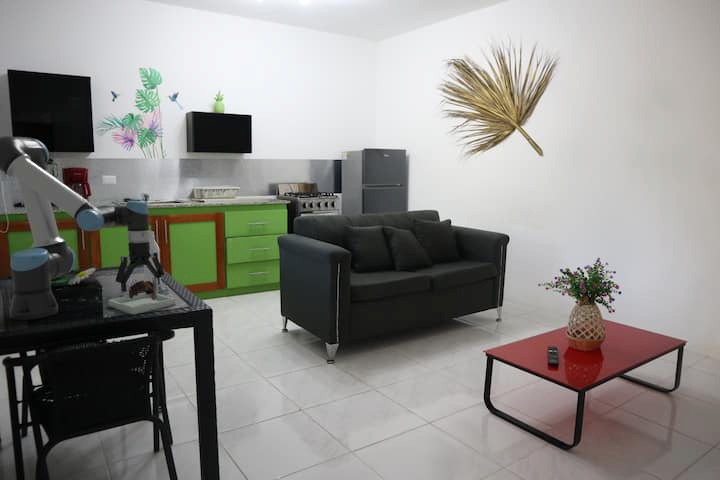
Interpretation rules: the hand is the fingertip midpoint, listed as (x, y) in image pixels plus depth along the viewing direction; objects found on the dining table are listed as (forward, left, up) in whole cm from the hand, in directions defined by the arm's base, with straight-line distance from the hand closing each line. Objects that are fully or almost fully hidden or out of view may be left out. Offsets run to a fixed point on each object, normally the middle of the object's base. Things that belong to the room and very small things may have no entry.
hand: (141, 296), depth 202 cm
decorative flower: (-5, +57, -4) cm, 58 cm away
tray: (0, 0, -4) cm, 4 cm away
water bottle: (+19, +24, -4) cm, 31 cm away
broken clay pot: (+1, -1, -1) cm, 1 cm away
